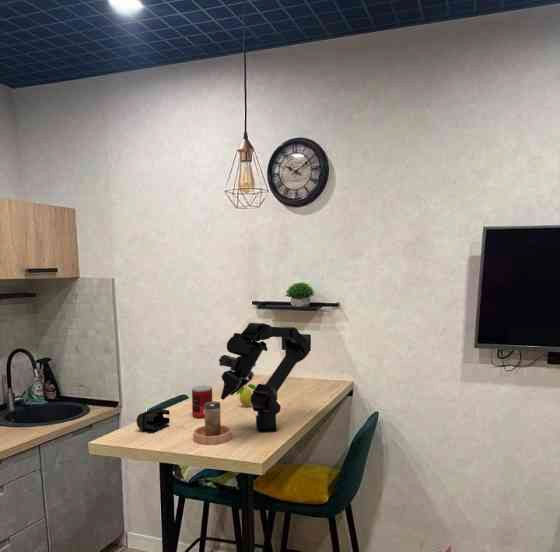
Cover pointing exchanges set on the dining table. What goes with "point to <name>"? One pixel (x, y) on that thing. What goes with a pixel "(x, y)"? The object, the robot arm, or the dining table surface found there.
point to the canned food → (200, 400)
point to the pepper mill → (212, 419)
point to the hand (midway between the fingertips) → (226, 396)
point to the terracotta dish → (211, 440)
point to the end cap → (153, 420)
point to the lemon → (246, 394)
